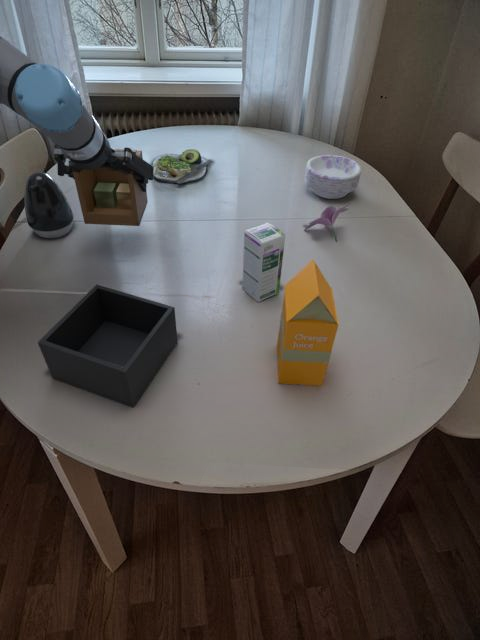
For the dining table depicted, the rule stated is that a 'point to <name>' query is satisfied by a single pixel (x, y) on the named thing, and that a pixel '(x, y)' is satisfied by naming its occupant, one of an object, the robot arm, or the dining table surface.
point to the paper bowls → (332, 176)
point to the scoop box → (117, 216)
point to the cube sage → (106, 195)
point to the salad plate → (180, 167)
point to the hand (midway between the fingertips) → (116, 184)
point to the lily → (328, 217)
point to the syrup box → (262, 261)
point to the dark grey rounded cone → (46, 207)
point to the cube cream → (124, 196)
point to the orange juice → (306, 328)
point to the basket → (111, 344)
